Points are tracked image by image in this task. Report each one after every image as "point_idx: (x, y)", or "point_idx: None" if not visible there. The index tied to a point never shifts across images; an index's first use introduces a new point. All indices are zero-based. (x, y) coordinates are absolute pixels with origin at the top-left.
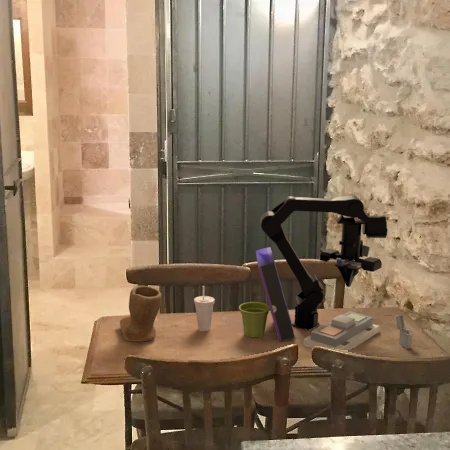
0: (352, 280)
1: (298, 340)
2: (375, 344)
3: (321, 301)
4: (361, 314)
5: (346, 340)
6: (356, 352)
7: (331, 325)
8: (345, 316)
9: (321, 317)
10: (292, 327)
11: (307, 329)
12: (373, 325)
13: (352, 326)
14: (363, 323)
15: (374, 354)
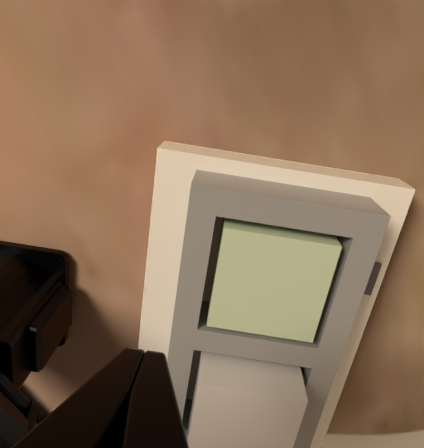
0: (180, 440)
1: None
2: (405, 335)
3: (25, 427)
4: (296, 207)
5: None
6: (342, 434)
7: None
8: (240, 396)
9: (12, 137)
10: None
11: (59, 344)
12: (377, 202)
13: None
14: (347, 334)
15: (418, 422)
